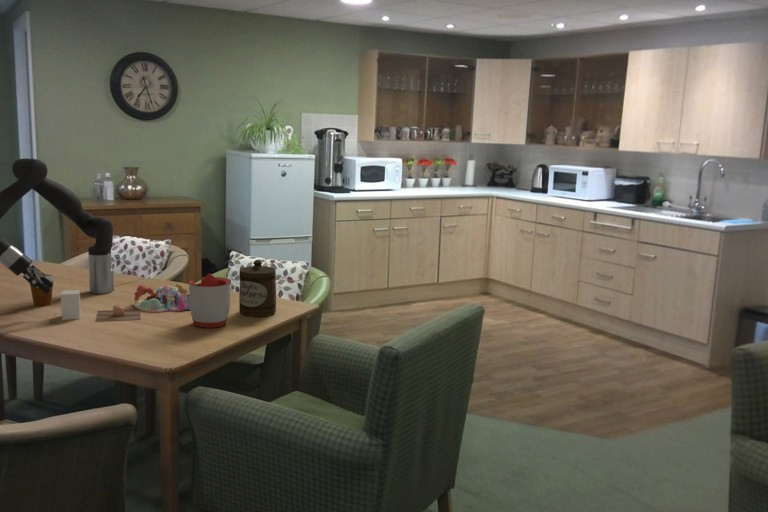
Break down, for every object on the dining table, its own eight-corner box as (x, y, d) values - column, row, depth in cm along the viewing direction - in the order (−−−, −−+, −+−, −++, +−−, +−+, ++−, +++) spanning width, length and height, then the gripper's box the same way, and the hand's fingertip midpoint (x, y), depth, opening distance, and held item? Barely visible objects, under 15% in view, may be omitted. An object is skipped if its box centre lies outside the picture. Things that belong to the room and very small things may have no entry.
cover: (63, 315, 272) (62, 290, 270) (81, 314, 274) (80, 290, 272) (62, 320, 266) (60, 294, 264) (79, 319, 268) (78, 293, 266)
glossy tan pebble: (119, 313, 278) (118, 304, 277) (126, 315, 276) (126, 306, 275) (111, 315, 274) (110, 306, 273) (118, 317, 272) (118, 308, 272)
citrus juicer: (206, 315, 282) (206, 266, 278) (239, 323, 273) (239, 273, 269) (176, 324, 269) (176, 273, 265) (210, 332, 260) (210, 279, 256)
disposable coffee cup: (45, 309, 281) (43, 279, 279) (24, 307, 283) (22, 278, 281) (60, 303, 290) (59, 275, 288) (40, 301, 292) (38, 273, 290)
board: (97, 312, 280) (97, 310, 280) (140, 310, 285) (140, 309, 285) (95, 323, 265) (95, 322, 265) (140, 321, 270) (140, 319, 270)
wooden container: (232, 314, 285) (232, 261, 281) (251, 306, 299) (252, 255, 295) (263, 319, 280) (264, 265, 276) (282, 310, 294) (283, 259, 290)
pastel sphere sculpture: (174, 296, 309) (174, 275, 308) (210, 306, 296) (210, 285, 294) (124, 305, 289) (124, 283, 287) (160, 316, 276) (160, 293, 274)
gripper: (19, 256, 254) (55, 286, 259) (25, 249, 267) (59, 277, 273) (3, 271, 253) (40, 301, 259) (10, 263, 266) (45, 291, 272)
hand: (50, 289), depth 266 cm, fingers open, 8 cm apart
